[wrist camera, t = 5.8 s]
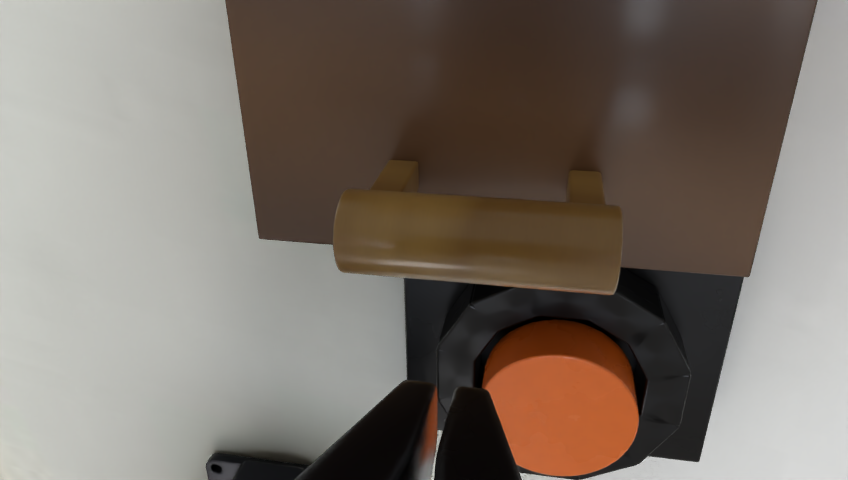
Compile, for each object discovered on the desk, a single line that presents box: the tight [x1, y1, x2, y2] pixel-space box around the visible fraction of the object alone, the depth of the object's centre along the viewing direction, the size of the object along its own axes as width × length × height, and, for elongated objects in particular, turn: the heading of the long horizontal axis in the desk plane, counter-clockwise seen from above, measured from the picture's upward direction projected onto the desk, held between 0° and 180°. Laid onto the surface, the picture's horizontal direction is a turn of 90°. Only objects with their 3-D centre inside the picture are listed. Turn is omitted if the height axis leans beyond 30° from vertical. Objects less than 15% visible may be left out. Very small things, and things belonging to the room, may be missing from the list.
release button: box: [482, 319, 639, 476], centre depth 19 cm, size 4×4×2 cm
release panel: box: [404, 267, 744, 480], centre depth 21 cm, size 10×8×4 cm
